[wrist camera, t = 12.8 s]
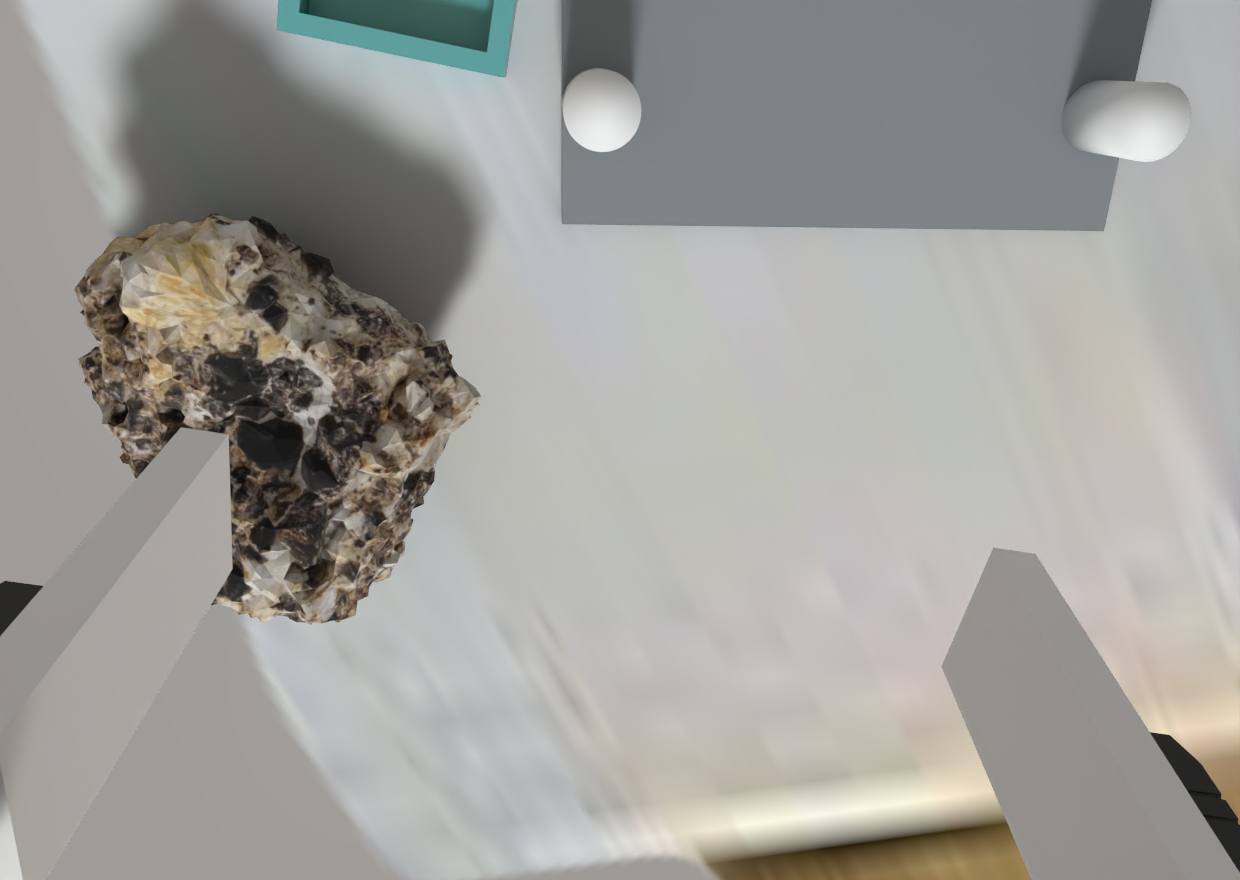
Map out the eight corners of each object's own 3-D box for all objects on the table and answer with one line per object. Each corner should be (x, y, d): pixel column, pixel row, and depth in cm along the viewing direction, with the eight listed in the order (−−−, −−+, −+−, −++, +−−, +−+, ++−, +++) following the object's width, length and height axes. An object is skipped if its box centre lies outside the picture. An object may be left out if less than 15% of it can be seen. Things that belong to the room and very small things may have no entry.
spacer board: (1164, -113, 40) (1250, -136, 35) (1094, 228, 45) (1161, 249, 40) (562, -136, 38) (563, -164, 33) (562, 221, 43) (562, 242, 38)
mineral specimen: (283, 584, 49) (220, 707, 40) (52, 282, 43) (-87, 344, 34) (548, 451, 48) (547, 546, 38) (349, 114, 41) (289, 131, 32)
